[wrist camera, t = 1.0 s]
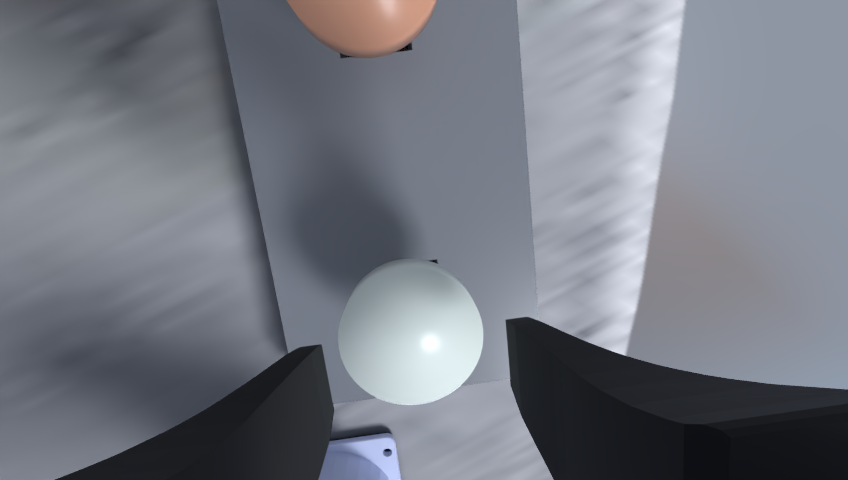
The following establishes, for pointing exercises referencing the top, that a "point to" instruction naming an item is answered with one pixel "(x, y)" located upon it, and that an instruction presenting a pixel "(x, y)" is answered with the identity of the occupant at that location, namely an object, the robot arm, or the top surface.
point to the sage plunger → (410, 332)
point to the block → (387, 166)
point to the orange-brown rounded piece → (364, 24)
